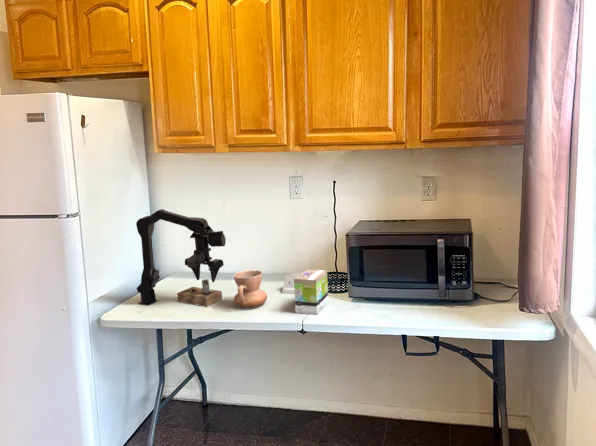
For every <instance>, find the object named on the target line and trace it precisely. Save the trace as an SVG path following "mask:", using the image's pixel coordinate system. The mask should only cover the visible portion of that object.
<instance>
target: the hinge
mask: <svg viewBox="0 0 596 446" xmlns="http://www.w3.org/2000/svg"><path fill="white" fill-rule="evenodd" d="M301 273H302V272H294V273H293V272H292V273H290V274H287V275H285V278H284V283H283V287H282V290H281V291H282V292H281V293H282V294H286V295H295V288H294V279H295V278H296V277H297V276H298V275H300V274H301Z"/></svg>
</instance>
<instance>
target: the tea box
mask: <svg viewBox="0 0 596 446" xmlns="http://www.w3.org/2000/svg"><path fill="white" fill-rule="evenodd" d="M300 273H301V274H300V275H298V276H297V277H296V278H295V279H294V288H295V294H294V304H295V305H294V307H295V308H294V309H295V314H305V315H307V314H309V315H310V314H311V315H318V313H319V312H321V310H323V308H325V307H326V306H327V304H328V303H329V289H328V287H329V284H328V270H327V269H326V270H325V269H324V270H323V269H322V270H321V269H305V270H304V271H302V272H300Z"/></svg>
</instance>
